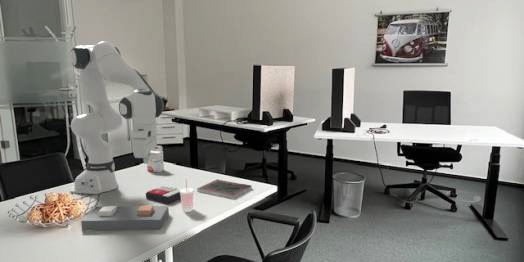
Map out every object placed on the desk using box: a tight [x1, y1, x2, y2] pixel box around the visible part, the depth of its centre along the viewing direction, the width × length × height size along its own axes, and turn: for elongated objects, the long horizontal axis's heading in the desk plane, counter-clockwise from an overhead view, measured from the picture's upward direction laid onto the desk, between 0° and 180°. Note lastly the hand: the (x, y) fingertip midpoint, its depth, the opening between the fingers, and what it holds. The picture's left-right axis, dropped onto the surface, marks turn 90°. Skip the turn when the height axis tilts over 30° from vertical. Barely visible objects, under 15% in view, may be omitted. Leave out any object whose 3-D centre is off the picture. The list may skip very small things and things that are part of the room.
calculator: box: [145, 185, 181, 205], centre depth 176 cm, size 11×4×15 cm
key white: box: [99, 205, 117, 216], centre depth 149 cm, size 5×5×4 cm
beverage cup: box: [179, 178, 195, 213], centre depth 161 cm, size 6×6×14 cm
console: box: [80, 205, 170, 232], centre depth 149 cm, size 30×14×4 cm, turn 91°
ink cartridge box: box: [146, 145, 165, 173], centre depth 219 cm, size 9×5×15 cm, turn 77°
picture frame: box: [196, 178, 253, 200], centre depth 186 cm, size 16×2×22 cm
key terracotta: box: [137, 205, 154, 216], centre depth 149 cm, size 5×5×4 cm
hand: (146, 162), depth 153 cm, fingers closed
